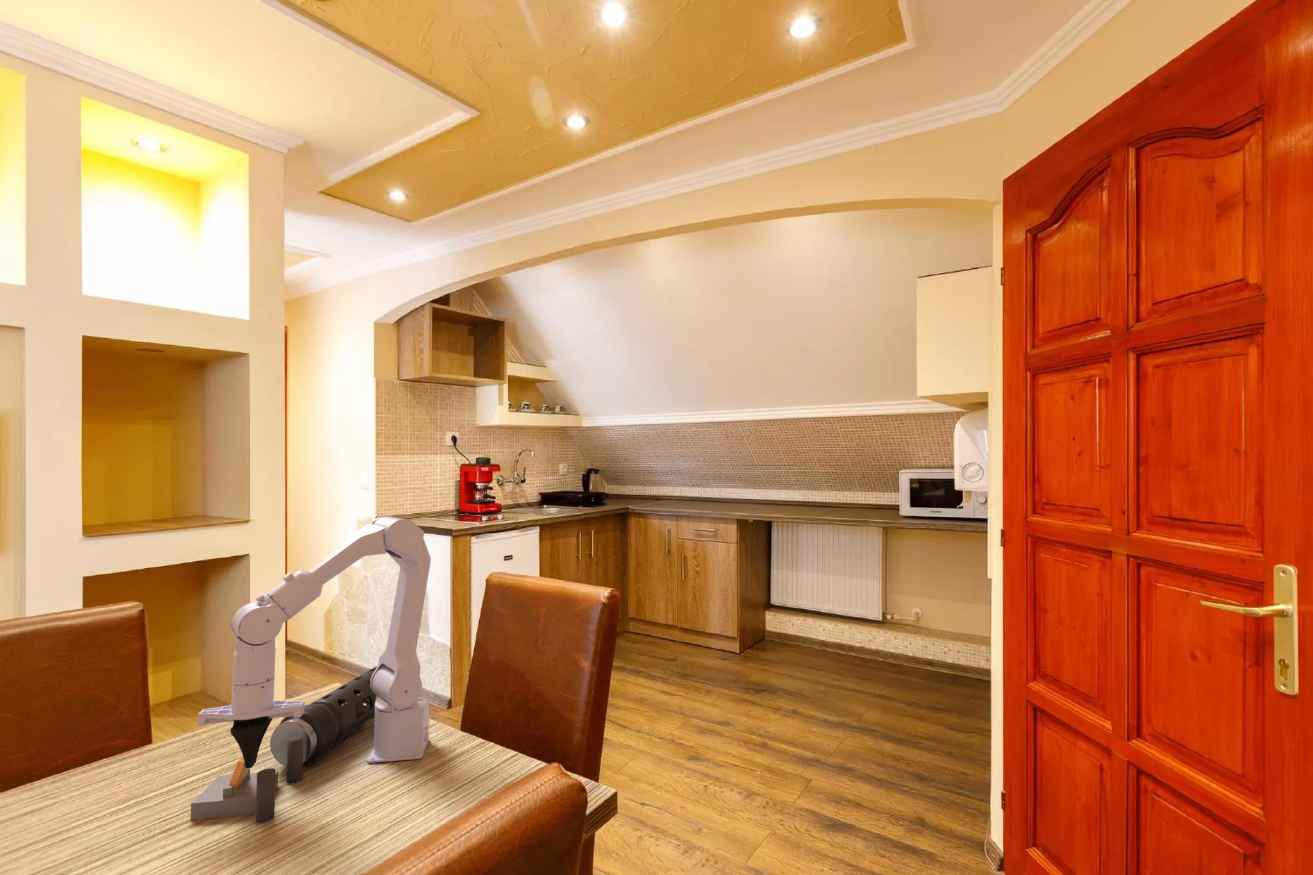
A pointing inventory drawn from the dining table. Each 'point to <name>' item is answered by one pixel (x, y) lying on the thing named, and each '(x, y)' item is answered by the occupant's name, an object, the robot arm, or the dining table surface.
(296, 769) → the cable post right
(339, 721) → the muzzle brake
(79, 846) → the dining table surface
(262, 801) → the cylinder
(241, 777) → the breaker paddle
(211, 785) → the switch box
